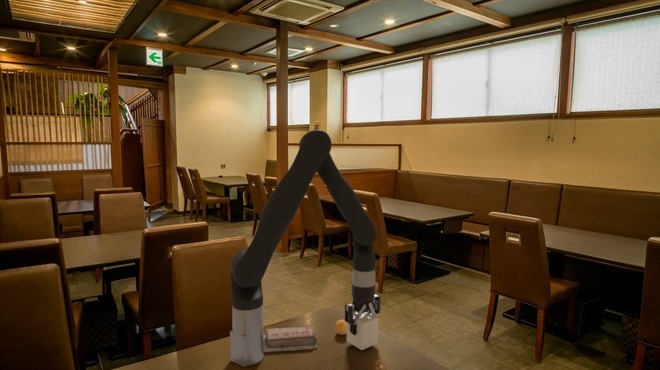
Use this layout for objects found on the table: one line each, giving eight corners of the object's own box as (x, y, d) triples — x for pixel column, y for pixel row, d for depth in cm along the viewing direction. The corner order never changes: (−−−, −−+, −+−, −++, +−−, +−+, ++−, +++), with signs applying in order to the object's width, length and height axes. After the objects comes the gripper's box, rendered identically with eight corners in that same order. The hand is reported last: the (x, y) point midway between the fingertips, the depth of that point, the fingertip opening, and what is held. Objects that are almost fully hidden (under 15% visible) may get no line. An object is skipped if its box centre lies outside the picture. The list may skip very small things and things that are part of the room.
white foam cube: (377, 343, 128) (378, 317, 127) (361, 350, 124) (362, 323, 123) (362, 334, 134) (363, 309, 133) (346, 341, 129) (347, 315, 128)
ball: (344, 339, 133) (344, 325, 133) (332, 334, 136) (332, 320, 136) (352, 333, 137) (352, 319, 137) (340, 329, 140) (340, 315, 140)
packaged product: (314, 321, 136) (317, 336, 127) (313, 335, 137) (317, 350, 127) (261, 324, 134) (260, 339, 124) (261, 338, 134) (261, 354, 124)
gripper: (371, 274, 134) (369, 320, 136) (339, 283, 125) (338, 332, 127) (387, 280, 128) (385, 328, 130) (355, 290, 119) (354, 342, 121)
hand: (362, 330), depth 129 cm, fingers closed on white foam cube, 7 cm apart
